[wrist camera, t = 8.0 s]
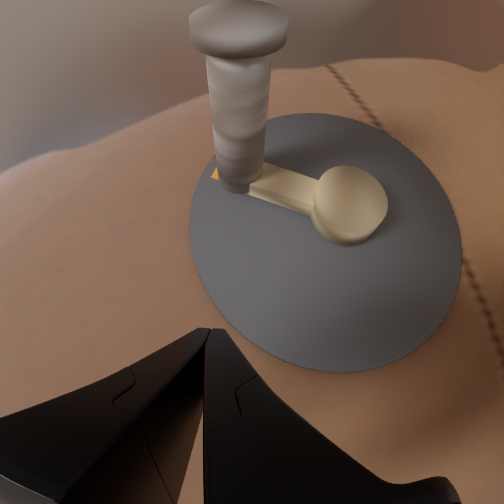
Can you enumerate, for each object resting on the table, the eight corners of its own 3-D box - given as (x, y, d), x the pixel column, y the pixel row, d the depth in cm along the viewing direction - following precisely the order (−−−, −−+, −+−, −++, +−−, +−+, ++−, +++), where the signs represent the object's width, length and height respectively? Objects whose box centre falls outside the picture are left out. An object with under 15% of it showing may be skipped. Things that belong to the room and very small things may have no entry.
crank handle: (379, 200, 23) (460, 66, 11) (367, 256, 21) (474, 126, 9) (226, 147, 24) (218, -6, 12) (198, 196, 23) (166, 33, 10)
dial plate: (493, 273, 22) (498, 270, 21) (286, 434, 17) (287, 436, 17) (357, 97, 29) (358, 92, 28) (149, 172, 25) (147, 167, 24)
